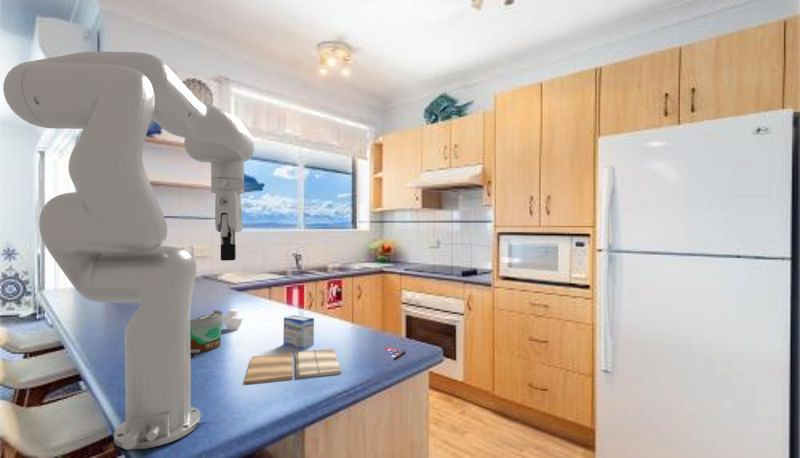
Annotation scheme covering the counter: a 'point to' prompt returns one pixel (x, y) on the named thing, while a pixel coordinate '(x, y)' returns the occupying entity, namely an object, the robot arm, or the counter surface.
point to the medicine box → (298, 331)
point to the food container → (205, 332)
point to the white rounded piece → (233, 319)
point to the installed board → (316, 363)
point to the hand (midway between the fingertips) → (228, 260)
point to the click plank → (270, 368)
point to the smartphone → (395, 352)
